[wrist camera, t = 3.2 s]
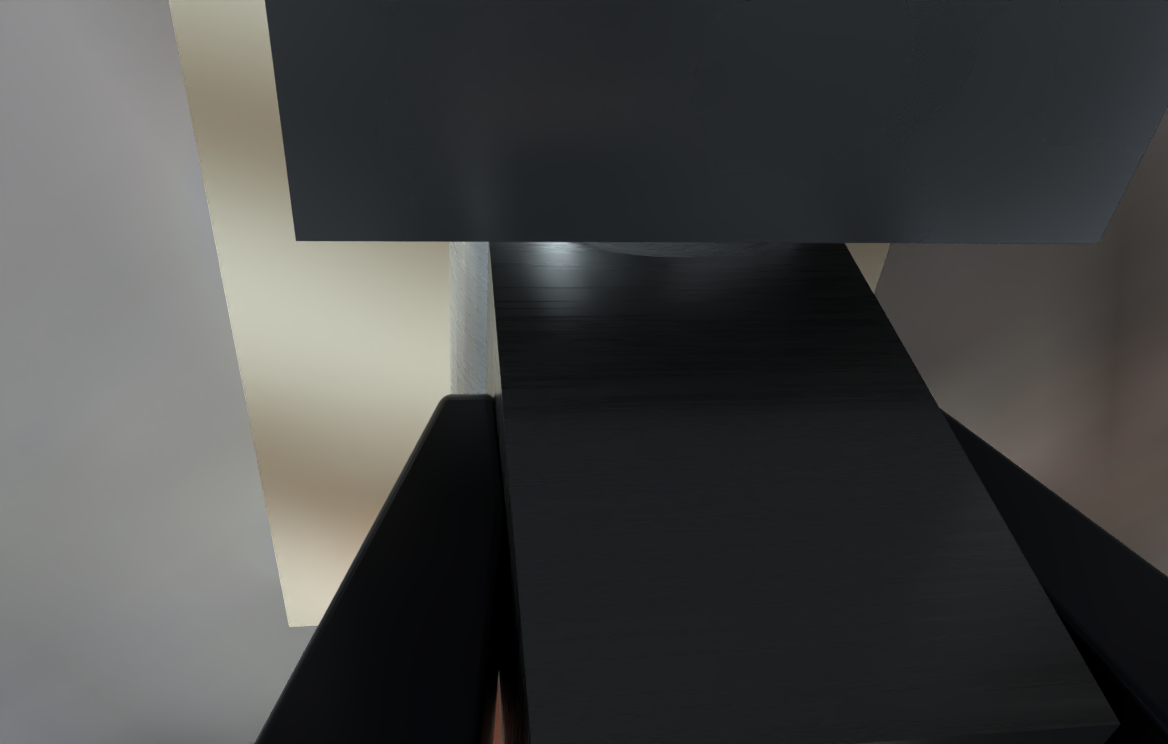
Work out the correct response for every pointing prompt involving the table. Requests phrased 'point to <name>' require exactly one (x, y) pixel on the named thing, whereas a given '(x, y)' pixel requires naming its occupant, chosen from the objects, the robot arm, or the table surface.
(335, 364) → the base board
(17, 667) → the table surface
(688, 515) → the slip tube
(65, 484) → the table surface
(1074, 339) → the table surface
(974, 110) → the sleeve
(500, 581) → the robot arm
